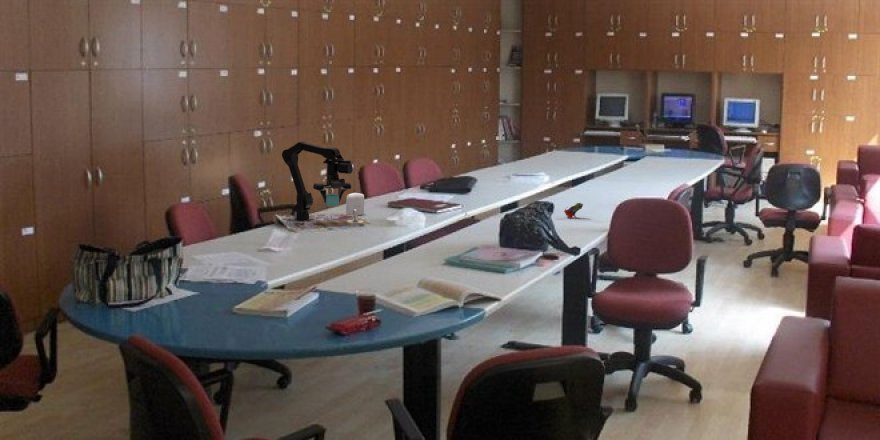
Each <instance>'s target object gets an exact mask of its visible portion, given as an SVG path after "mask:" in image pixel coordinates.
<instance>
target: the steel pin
mask: <svg viewBox="0 0 880 440" xmlns="http://www.w3.org/2000/svg"><path fill="white" fill-rule="evenodd" d="M352 219H353V222H358V219H359V215H358V209H353V215H352Z"/></svg>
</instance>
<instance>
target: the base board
mask: <svg viewBox="0 0 880 440" xmlns="http://www.w3.org/2000/svg"><path fill="white" fill-rule="evenodd" d="M318 223H320V224H322V225H324V226H327V227H336V226H355V225H356V226H357V225H359V226H360V225H372V223H370V222H368V221H366V220H364V219H362V218H358V222H353V218H348V219H329V220H328V219H327V220H326V219H325V220H318Z"/></svg>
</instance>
